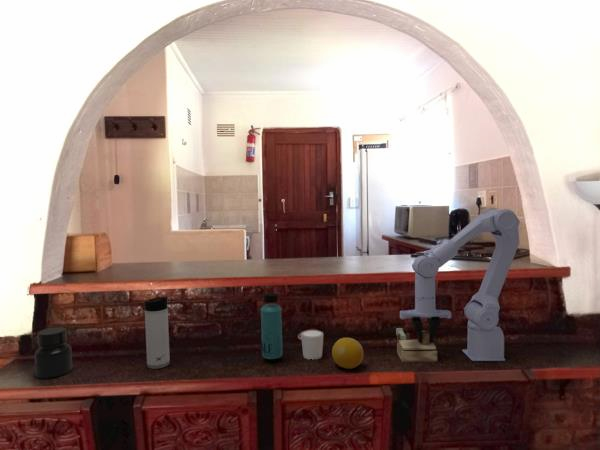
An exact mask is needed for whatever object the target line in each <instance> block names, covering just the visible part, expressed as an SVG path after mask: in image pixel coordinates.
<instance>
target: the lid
mask: <svg viewBox="0 0 600 450" xmlns="http://www.w3.org/2000/svg"><path fill="white" fill-rule="evenodd" d="M399 343H400V345H401V347H402V348H403V350H421V349H435V350H437V346H436V345H435V343H434V342H433V343H430V332H429V330H423V329H422V343H419V342H418V339H410V340H401V339H400V340H399Z"/></svg>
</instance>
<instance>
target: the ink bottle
mask: <svg viewBox="0 0 600 450" xmlns="http://www.w3.org/2000/svg"><path fill="white" fill-rule="evenodd" d="M67 336H68V335H67V328H66V327H60V326H58V327H55V326H54V327H49V328H46V329H45V328H44V329H42V330H40V331H38V332H37V341H38V343H37V344H38V349H36V350H35V353H34V365H35V366H34V368H35V376H36V378H39V379H51V378H57V377H62V376H64V375H67V374H68V373H69V372H70V371H72V369H73V351H72V346H71V345H70V344H69V343H67V341H68V339H67Z"/></svg>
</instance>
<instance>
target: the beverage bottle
mask: <svg viewBox="0 0 600 450" xmlns="http://www.w3.org/2000/svg"><path fill="white" fill-rule="evenodd" d="M278 301H279V300H278V294H277V293H274V292H268V293H265V294H264V295H263V302H264V303H266V304H263V306H262V307H261V308H260V331H261V333H260V334H261V341H260V345H261V347H260V349H261V352H260V354H261V355H262V357H263V358H264V359H267V360H275V359H280V358H281V357H282V356H283V353H284V348H283V346H284V344H283V331H282V330H283V327H282V326H283V325H282V323H283V322H282V321H283V320H282V307H281V306H280V305H279V304H277V302H278Z"/></svg>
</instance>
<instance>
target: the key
mask: <svg viewBox="0 0 600 450" xmlns="http://www.w3.org/2000/svg"><path fill="white" fill-rule="evenodd" d="M395 332H396V333H395V334H396V336H397V333H400V340H406V334H405V332H404V328H403V327H400V328H399V327H397V328H395Z"/></svg>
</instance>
